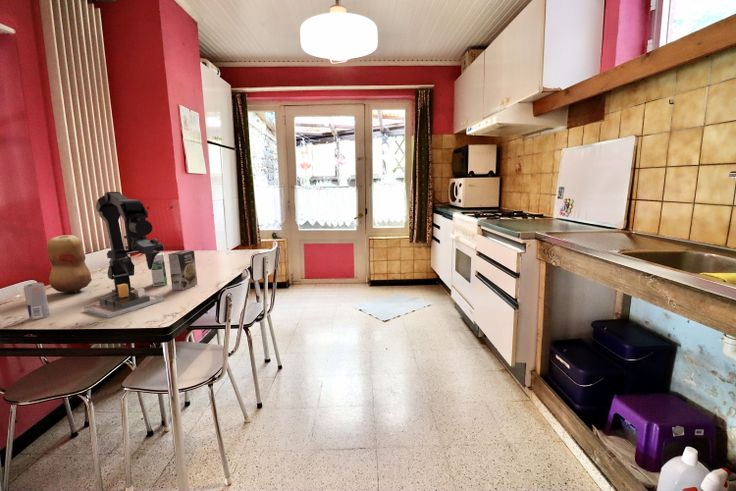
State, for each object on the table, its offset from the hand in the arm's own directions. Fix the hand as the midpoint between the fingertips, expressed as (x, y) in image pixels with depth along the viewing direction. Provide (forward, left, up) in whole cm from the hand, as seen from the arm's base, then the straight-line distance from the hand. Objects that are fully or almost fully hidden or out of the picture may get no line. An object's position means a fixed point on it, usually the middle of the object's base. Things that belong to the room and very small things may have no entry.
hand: (139, 271), depth 139 cm
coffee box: (-1, +19, -12) cm, 23 cm away
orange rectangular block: (0, -7, -8) cm, 11 cm away
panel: (0, -7, -12) cm, 14 cm away
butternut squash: (-40, -7, -12) cm, 42 cm away
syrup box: (-16, +17, -12) cm, 26 cm away
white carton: (-16, -27, -12) cm, 34 cm away
